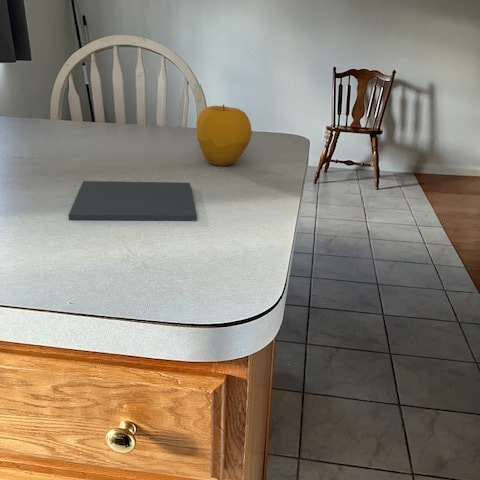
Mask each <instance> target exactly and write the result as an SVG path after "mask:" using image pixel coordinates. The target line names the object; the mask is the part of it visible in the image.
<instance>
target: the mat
mask: <svg viewBox="0 0 480 480" xmlns="http://www.w3.org/2000/svg"><path fill="white" fill-rule="evenodd" d="M191 187H192V186H191V183H190V182H176V181H175V182H171V181H169V182H168V181H166V182H164V181H160V182H159V181H111V180H110V181H109V180H107V181H103V180H102V181H101V180H83V181H82V183H81V186H80V188H79V189H78V192H77V194H76V197H75V199H74V200H73V203H72V206H71V208H70V209H69V212H68V220H69V221H184V222H185V221H187V222H188V221H190V222H191V221H195V222H196V221H197V212H196V207H195V202H194V197H193V192H192V188H191Z"/></svg>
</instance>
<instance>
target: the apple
mask: <svg viewBox="0 0 480 480" xmlns="http://www.w3.org/2000/svg"><path fill="white" fill-rule="evenodd" d="M195 127H196V138H197V142H198V145H199V149H200V151H201V153H202V155H203V157H204V159H205V160H206V161H207V162H208V163H209V164H211V165H214V166H218V167H228V166H232V164H234V163H236V162H237V161H238V160H239V158H240V157H241V156H242V154H244V152H245V150H246V149H247V147H248V146H249V144H250V141H251V138H252V134H253V132H252V131H253V130H252V124H251V121H250V119H249V117H248V116H247V113H246V112H244V111H243V110H242V109H240V108H238V107H232V106H231V107H230V106H225V104H222V105H210V106H207V107H205V108H204V109H202V110H201V111H200V113H199V114H198V117H197V120H196V123H195Z"/></svg>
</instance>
